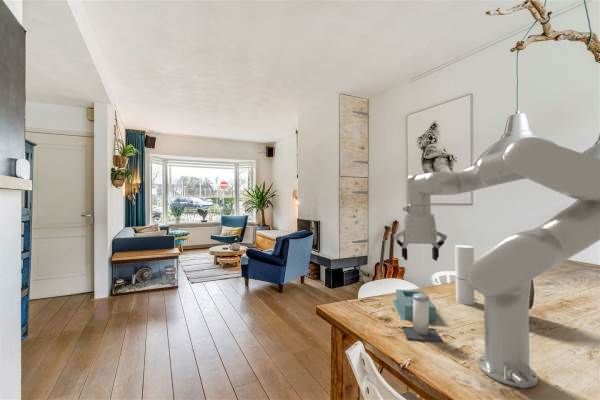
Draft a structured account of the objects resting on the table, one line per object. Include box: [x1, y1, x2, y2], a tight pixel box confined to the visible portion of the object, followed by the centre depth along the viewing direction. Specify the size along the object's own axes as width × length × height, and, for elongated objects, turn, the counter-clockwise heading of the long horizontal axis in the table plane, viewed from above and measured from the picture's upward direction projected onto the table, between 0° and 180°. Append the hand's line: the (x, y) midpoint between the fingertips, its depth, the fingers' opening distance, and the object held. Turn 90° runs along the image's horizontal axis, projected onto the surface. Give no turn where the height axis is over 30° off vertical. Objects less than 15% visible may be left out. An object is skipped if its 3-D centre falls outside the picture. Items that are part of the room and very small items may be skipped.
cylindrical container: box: [454, 244, 475, 306], centre depth 122 cm, size 7×7×25 cm
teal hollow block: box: [392, 288, 441, 323], centre depth 111 cm, size 21×14×6 cm, turn 170°
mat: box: [401, 326, 444, 343], centre depth 94 cm, size 11×11×1 cm
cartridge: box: [412, 293, 430, 335], centre depth 94 cm, size 5×5×12 cm
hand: (420, 259), depth 94 cm, fingers open, 9 cm apart
